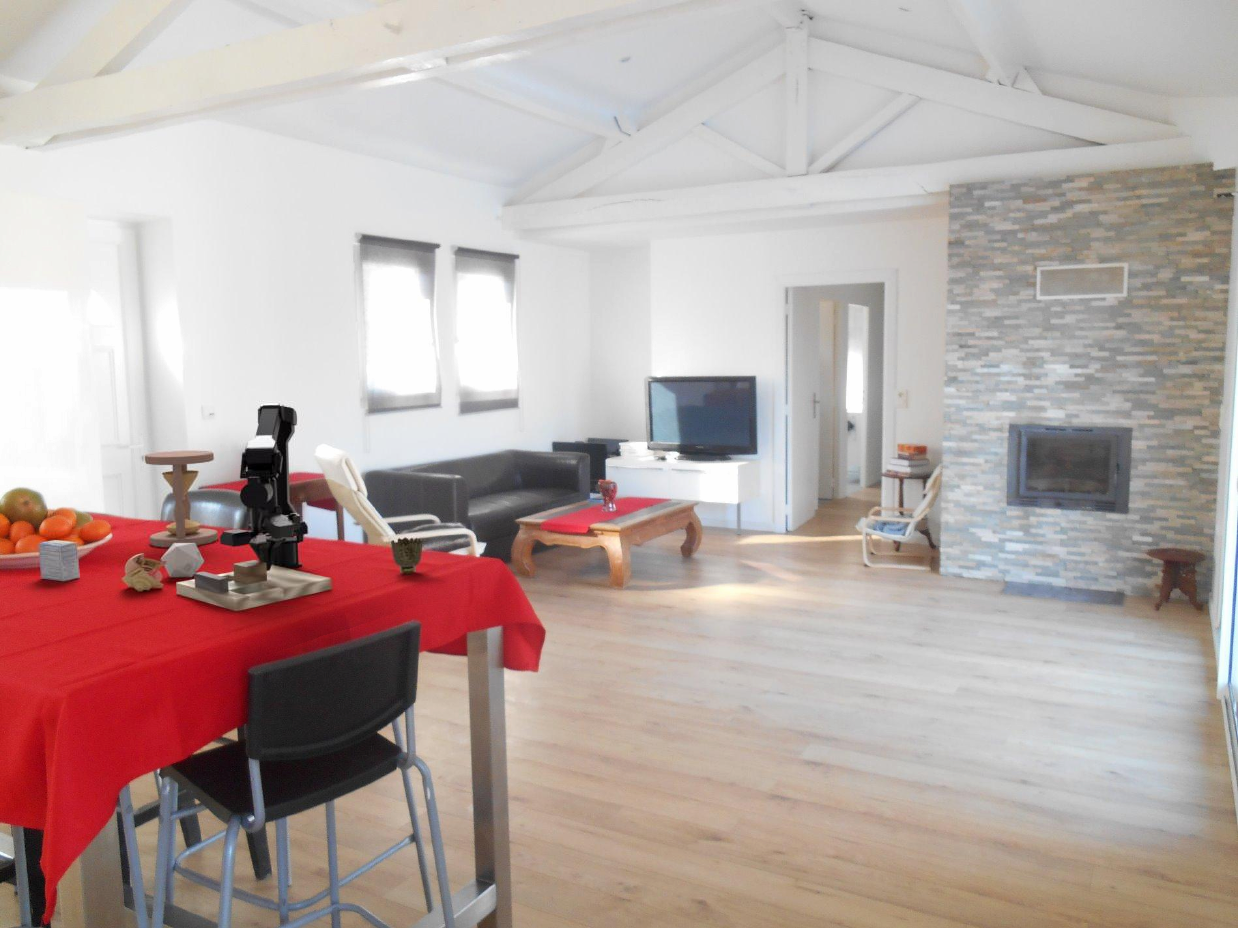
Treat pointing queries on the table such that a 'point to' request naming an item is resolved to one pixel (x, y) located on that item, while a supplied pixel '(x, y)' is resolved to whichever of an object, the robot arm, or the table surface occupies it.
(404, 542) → the cup
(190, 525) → the hourglass
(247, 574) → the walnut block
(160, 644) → the table surface
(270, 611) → the table surface
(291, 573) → the board
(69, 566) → the stool softener box
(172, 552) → the die
